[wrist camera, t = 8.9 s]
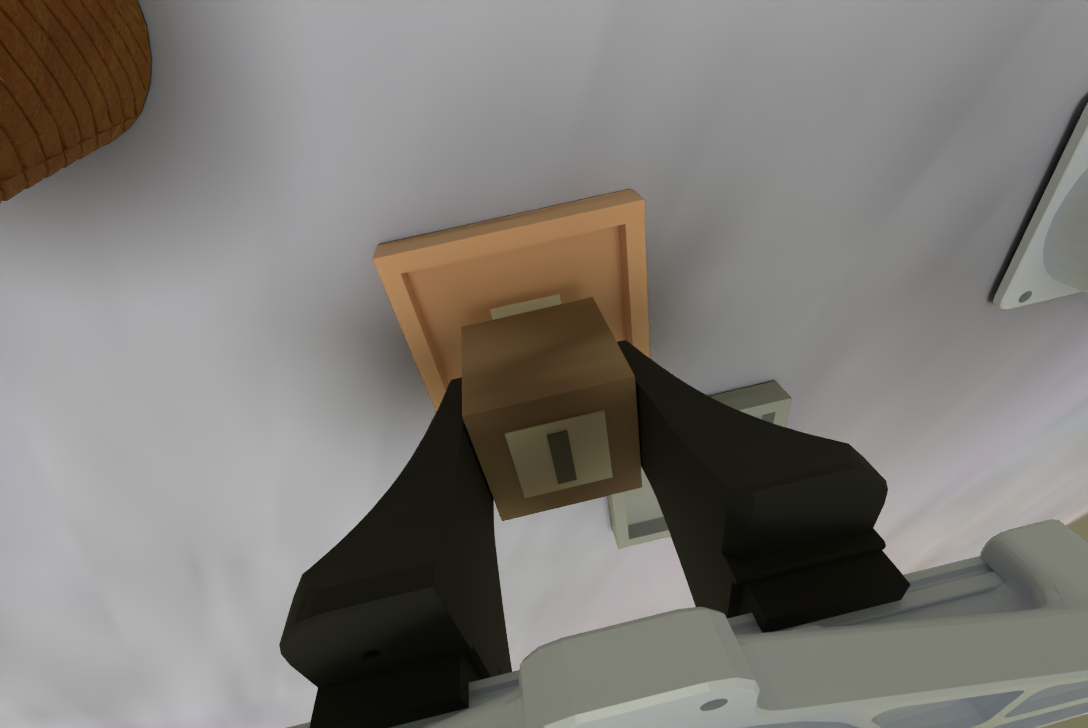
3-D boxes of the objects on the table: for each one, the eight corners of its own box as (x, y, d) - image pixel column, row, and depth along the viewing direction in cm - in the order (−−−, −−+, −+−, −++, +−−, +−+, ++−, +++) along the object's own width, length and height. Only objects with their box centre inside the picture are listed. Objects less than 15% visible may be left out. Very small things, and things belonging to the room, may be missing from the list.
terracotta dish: (631, 188, 14) (644, 199, 13) (641, 385, 19) (651, 403, 18) (378, 244, 14) (372, 259, 13) (452, 429, 19) (452, 450, 18)
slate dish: (775, 380, 20) (791, 398, 19) (755, 494, 24) (767, 512, 23) (598, 422, 20) (605, 441, 19) (612, 528, 24) (618, 548, 23)
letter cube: (592, 296, 13) (636, 379, 10) (604, 397, 16) (643, 490, 12) (461, 327, 13) (462, 419, 10) (493, 423, 16) (502, 524, 12)
